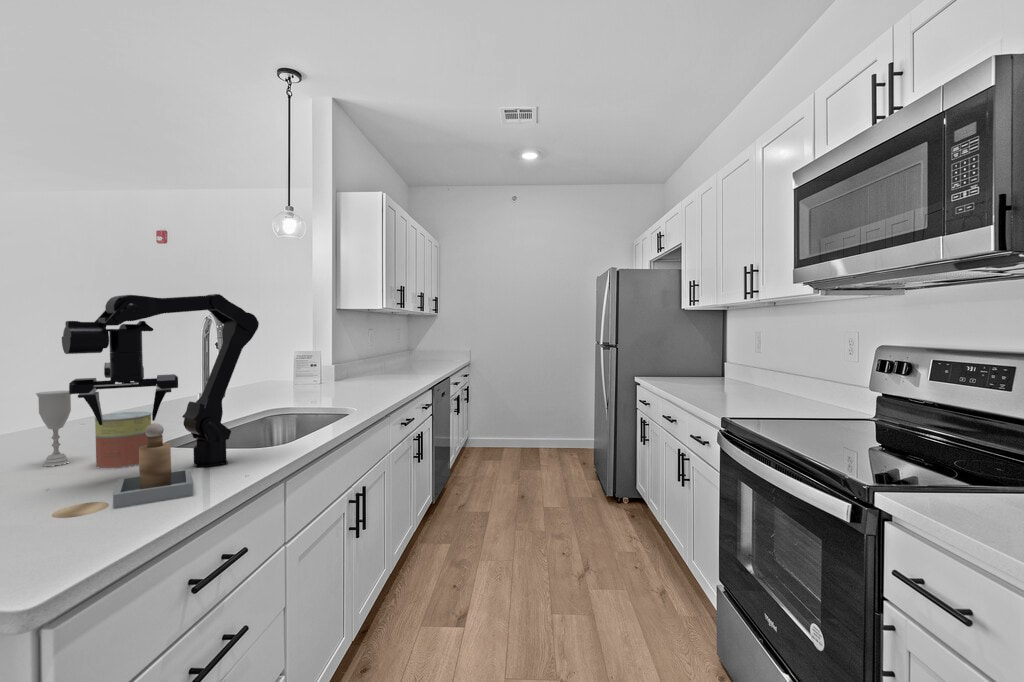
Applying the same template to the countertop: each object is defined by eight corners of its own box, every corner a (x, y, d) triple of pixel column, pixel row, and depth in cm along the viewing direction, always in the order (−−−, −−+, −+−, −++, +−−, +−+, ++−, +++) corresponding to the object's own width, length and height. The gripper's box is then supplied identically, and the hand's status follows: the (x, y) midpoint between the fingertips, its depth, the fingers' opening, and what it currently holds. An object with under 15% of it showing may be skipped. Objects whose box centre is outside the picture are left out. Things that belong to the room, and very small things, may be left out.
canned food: (163, 458, 131) (162, 412, 130) (121, 470, 119) (120, 420, 119) (127, 455, 133) (126, 411, 132) (83, 467, 122) (82, 418, 121)
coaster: (111, 502, 97) (111, 499, 97) (107, 514, 91) (106, 511, 91) (56, 510, 93) (56, 507, 93) (47, 524, 86) (47, 521, 86)
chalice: (81, 461, 127) (79, 391, 126) (49, 469, 120) (47, 394, 120) (63, 459, 129) (61, 390, 129) (30, 466, 123) (28, 393, 122)
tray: (190, 482, 109) (190, 468, 109) (192, 498, 99) (192, 483, 99) (119, 493, 102) (118, 478, 102) (113, 511, 92) (112, 494, 92)
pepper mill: (169, 486, 105) (167, 419, 104) (173, 492, 101) (172, 423, 100) (138, 492, 101) (136, 423, 101) (142, 499, 97) (140, 427, 97)
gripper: (176, 349, 122) (178, 413, 122) (76, 352, 111) (77, 421, 112) (177, 351, 113) (178, 420, 113) (67, 354, 102) (69, 429, 103)
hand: (127, 422), depth 110 cm, fingers open, 9 cm apart
